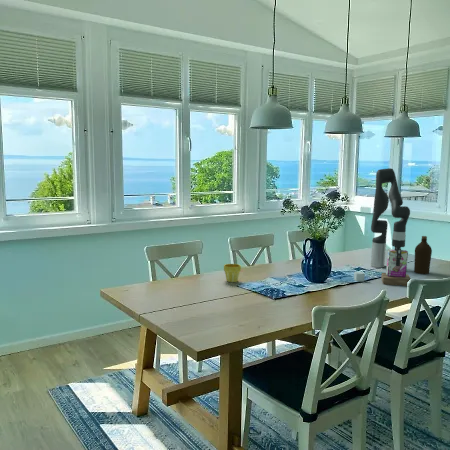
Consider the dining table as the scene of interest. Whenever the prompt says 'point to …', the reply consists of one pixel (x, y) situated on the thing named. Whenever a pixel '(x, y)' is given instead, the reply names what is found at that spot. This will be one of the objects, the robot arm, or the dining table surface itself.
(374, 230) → the robot arm
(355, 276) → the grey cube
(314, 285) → the dining table surface
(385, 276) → the walnut plinth
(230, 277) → the plant pot
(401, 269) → the candy bar box
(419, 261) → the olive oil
